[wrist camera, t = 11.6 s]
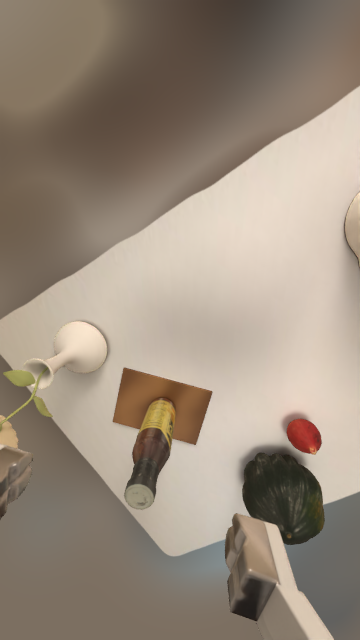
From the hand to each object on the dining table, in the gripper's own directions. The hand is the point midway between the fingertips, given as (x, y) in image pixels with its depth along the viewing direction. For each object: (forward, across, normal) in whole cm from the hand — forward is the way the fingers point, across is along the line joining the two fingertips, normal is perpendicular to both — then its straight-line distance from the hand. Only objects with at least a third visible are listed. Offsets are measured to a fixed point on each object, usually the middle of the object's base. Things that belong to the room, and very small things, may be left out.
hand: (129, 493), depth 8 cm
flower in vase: (+35, +20, +12) cm, 42 cm away
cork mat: (+35, +1, +22) cm, 41 cm away
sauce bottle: (+34, 0, +22) cm, 41 cm away
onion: (+35, -28, +17) cm, 48 cm away
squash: (+35, -27, +30) cm, 53 cm away
